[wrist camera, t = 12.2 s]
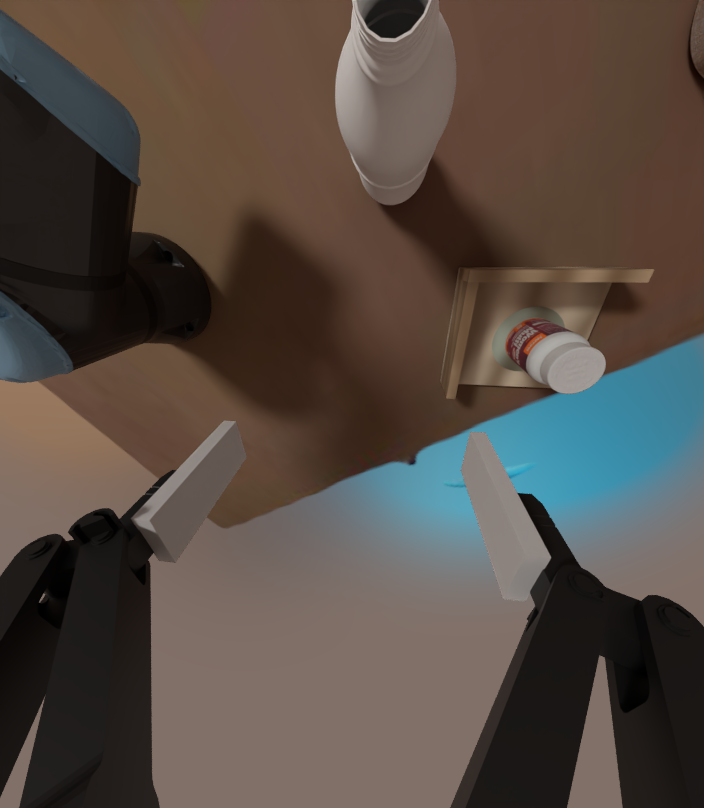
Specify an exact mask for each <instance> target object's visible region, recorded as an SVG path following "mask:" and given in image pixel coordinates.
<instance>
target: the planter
mask: <svg viewBox="0 0 704 808" xmlns="http://www.w3.org/2000/svg"><path fill="white" fill-rule="evenodd" d="M690 54H691V59H692V62H693V65H694V67H695V69H696V71H697V72H698V74H699V75H700V76H701V77H702V78H703V79H704V0H699V1H698V4H697V7H696V10H695V13H694V17H693V21H692V26H691V33H690Z"/></svg>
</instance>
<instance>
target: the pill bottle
mask: <svg viewBox="0 0 704 808" xmlns="http://www.w3.org/2000/svg"><path fill="white" fill-rule="evenodd" d="M505 351H506V353H507V355H508V356H509V357H510V358H511V359H512V360H513V361H514V362H515V363H516V364H517V365H518V366H520V367H521V368H522V369H523V370H524V371H525V372H526V373H527V374H528V375H529V376H530V377H531V378H533V379H534V380H536V381H537V382H539V383H542V384H546V385H548V386H549V387H551V388H552V389H553V390H555V391H557V392H559V393H563V394H574V393H578V392H581V391H584V390H586V389H588V388H589V387H591V386H592V385H594V384H595V383H596V382H597V381H598V380H599V379H600V378H601V376H602V374H603V373H604V370H605V366H606V361H605V358H604V356H603V354H602V353H601V352H600V351H598V350H597V349H595V348H593V347H591V346H590V344H589V343H588V341H587V340H586V339H585V338H584V337H582V336H581V335H579V334H577V333H575V332H572V331H570V330H568V329H566V328H563V327H561V326H559V325H557V324H554V323H552V322H550V321H548V320H545V319H542V318H529V319H525V320H523V321H521V322H519V323H518V324H516V325H515V326H514V327H513V328H512V329H511V330H510V331H509V333H508V334H507V336H506V339H505Z"/></svg>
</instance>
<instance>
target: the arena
mask: <svg viewBox="0 0 704 808" xmlns="http://www.w3.org/2000/svg"><path fill="white" fill-rule="evenodd" d="M653 271H654V269H640V268H625V267H473V268H459V270H458V276H457V282H456V288H455V294H454V300H453V306H452V312H451V318H450V324H449V330H448V336H447V342H446V348H445V354H444V360H443V367H442V373H441V379H440V382H441V385H442V388H443V390H444V393H445V396H446V398H449V399H455V398H456V393H457V388H458V384H470V385H492V386H515V387H537V388H551V387H549V386H548V385H546V384H542V383H539V382H537V381H536V380H534V379H533V378H531V377H530V376H529V375H528V374H527V373H526V372H525V371H524V370H523V369H522V368H521V367H520V366H518V365H517V364H516V363H515V362H514V361H513V360H512V359H511V358H510V357H509V356H508V355H507V353H506V351H505V339H506V336H507V334H508V333H509V331H510V330H511V329H512V328H513V327H514V326H515V325H516V324H518V323H519V322H521V321H523V320H525V319H529V318H542V319H545V320H548V321H550V322H552V323H554V324H557V325H559V326H561V327H563V328H566V329H568V330H570V331H572V332H575V333H577V334H579V335H581V336H582V337H584V338H585V339H586V340H588V338H589V336H590V333H591V331H592V329H593V326H594V324H595V322H596V319H597V317H598V315H599V312H600V310H601V307H602V305H603V303H604V300H605V298H606V296H607V293H608V291H609V289H610V286H611V284H612V282H649V280H650V278H651V276H652V273H653Z"/></svg>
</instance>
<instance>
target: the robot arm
mask: <svg viewBox="0 0 704 808" xmlns="http://www.w3.org/2000/svg"><path fill="white" fill-rule="evenodd" d="M139 156H140V134H139V130H138V127H137V125H136V123H135V121H134V119H133V118H132V116H131V114H130V113H129V111H128V110H127V109H126V108H125V107H124V106H123V105H122V104H121V103H120V102H119V101H118V100H117V99H116V98H115V97H114V96H112V95H111V94H110V93H109V92H107V91H106V90H105V89H104V88H102V87H101V86H100V85H99V84H97V83H96V82H95V81H94V80H92V79H91V78H90V77H88V76H87V75H86V74H85V73H83V72H82V71H81V70H79V69H78V68H77V67H76V66H74V65H73V64H72V63H70V62H69V61H68V60H66V59H65V58H64V57H63V56H61V55H60V54H59V53H57V52H56V51H55V50H53V49H52V48H51V47H49V46H48V45H47V44H46V43H44V42H43V41H42V40H40V39H39V38H38V37H36V36H35V35H34V34H32V33H31V32H30V31H28V30H27V29H26V28H25V27H23V26H22V25H21V24H19V23H18V22H17V21H15V20H14V19H13V18H11V17H10V16H9V15H7V14H6V13H5V12H4V11H2V10H1V9H0V380H5V381H10V382H18V383H26V382H34V381H39V380H42V379H45V378H48V377H52V376H55V375H58V374H68V373H70V372H72V371H73V370H75V369H78V368H80V367H83V366H86V365H88V364H91V363H93V362H96V361H99V360H101V359H104V358H106V357H109V356H111V355H114V354H117V353H119V352H122V351H124V350H127V349H130V348H132V347H135V346H137V345H140V344H143V343H163V344H174V343H180V342H184V341H186V340H189V339H191V338H193V337H195V336H197V335H198V334H200V333H201V332H202V331H203V329H204V328H205V327H206V325H207V323H208V320H209V317H210V311H211V302H210V295H209V291H208V287H207V284H206V282H205V279H204V277H203V275H202V273H201V272H200V270H199V268H198V267H197V265H196V264H195V262H194V261H193V260H192V259H191V258H190V256H189V255H188V254H187V253H186V252H185V251H184V250H183V249H181V248H180V247H179V246H178V245H176V244H175V243H173V242H172V241H170V240H168V239H167V238H164V237H162V236H160V235H156V234H152V233H144V232H132V226H133V219H134V211H135V204H136V196H137V189H138V186H140V184H141V182H140V179H139V177H138V171H139ZM246 458H247V457H246V454H245V450H244V447H243V443H242V440H241V437H240V433H239V430H238V426H237V423H236V421H223V422H222V423H221V424H220V425H219V426H218V427H217V428H216V430H215V431H214V432H213V433H212V434H211V435H210V436H209V437H208V438H207V439H206V440H205V441H204V442H203V443H202V444H201V445H200V446H199V447H198V448H197V449H196V451H195V452H194V453H193V454H192V455H191V456H190V457H189V458H188V459H187V460H186V461H185V462H184V463H183V464H182V465H181V466H180V467H179V468H178V469H177V470H172V471H170V472H168V473H167V474H165V475H164V476H162V477H161V478H160V479H159V480H158V481H157V482H156V483H155V484H154V485H153V486H152V488H150V489H149V490H148V491H147V492H146V494H145V495H143V496H142V497H141V498H140V499H139V500H138V501H137V502H136V503H135V504H134V505H133V506H132V507H131V508H130V509H129V510H128V511H127V512H126V513H125V514H124V515H123V516H122V517H121V518H120V519H118V517H117V516H116V514H115V513H114V511H113V510H111V509H109V508H107V509H106V508H104V509H99V510H95V511H93V512H91V513H89V514H86V515H85V516H83V517H82V518H80V519H79V520H77V522H75V523H74V524H73V525H72V526H71V528H70V530H69V531H68V533H69V534H70V535H71V536H72V537H73V539H74V540H70V541H65V539H64V538H63V537H62V536H61V535H58V534H51V535H47V536H44V537H41V538H39V539H37V540H35V541H33V542H31V543H30V544H28V545H27V546H26V547H25V548H23V549H22V550H21V551H20V552H19V553H18V554H17V555H16V556H15V557H14V559H13V560H12V561H11V563H10V564H9V565H8V567H7V568H6V569H5V571H4V572H3V573H2V575H1V576H0V796H1V794H2V792H3V790H4V787H5V785H6V783H7V781H8V778H9V776H10V774H11V771H12V769H13V767H14V765H15V762H16V760H17V758H18V756H19V753H20V751H21V749H22V747H23V744H24V742H25V740H26V738H27V735H28V733H29V731H30V728H31V726H32V724H33V722H34V719H35V717H36V715H37V713H38V710H39V708H40V706H41V704H42V701H43V699H44V697H45V699H44V704H43V708H42V712H41V717H40V721H39V726H38V730H37V734H36V738H35V742H34V747H33V751H32V756H31V760H30V764H29V768H28V772H27V777H26V781H25V786H24V790H23V794H22V798H21V803H20V807H19V808H160V807H159V802H158V798H157V794H156V792H155V789H154V786H153V780H152V735H151V734H152V731H151V728H152V727H151V725H152V724H151V596H150V595H151V594H150V593H151V591H150V563H149V561H148V559H149V558H150V557H151V555H152V554H153V553H154V554H155V555H156V557H157V558H158V560H159V561H165V562H174V563H175V562H176V561H177V560H178V558H179V557H180V555H181V554H182V552H183V551H184V549H185V548H186V546H187V545H188V543H189V542H190V541H191V539H192V537H193V536H194V535H195V533H196V532H197V530H198V529H199V527H200V526H201V524H202V523H203V521H204V520H205V518H206V517H207V515H208V514H209V512H210V511H211V509H212V508H213V506H214V505H215V503H216V502H217V501H218V499H219V498H220V496H221V495H222V493H223V492H224V490H225V489H226V487H227V486H228V484H229V483H230V481H231V480H232V478H233V477H234V475H235V474H236V472H237V471H238V469H239V468H240V466H241V465H242V463H243V462H244V461H245V459H246ZM461 472H462V475H463V478H464V482H465V485H466V488H467V491H468V494H469V497H470V500H471V503H472V506H473V509H474V512H475V515H476V518H477V521H478V524H479V527H480V530H481V533H482V536H483V539H484V542H485V545H486V548H487V552H488V555H489V557H490V561H491V564H492V567H493V570H494V573H495V575H496V579H497V582H498V585H499V588H500V591H501V594H502V597H503V599H508V600H517V601H526V599H527V598H528V596H529V594H531V596H532V598H533V601H534V603H535V607H534V609H533V610H532V612H531V613H530V615H529V616H528V618H527V620H528V623H527V625H526V628H525V630H524V633H523V635H522V637H521V640H520V642H519V644H518V647H517V649H516V652H515V654H514V656H513V659H512V661H511V664H510V666H509V668H508V671H507V673H506V676H505V678H504V680H503V683H502V685H501V688H500V690H499V692H498V695H497V697H496V699H495V702H494V704H493V707H492V709H491V711H490V714H489V716H488V719H487V721H486V723H485V726H484V728H483V731H482V733H481V735H480V738H479V740H478V743H477V745H476V747H475V750H474V752H473V755H472V757H471V759H470V762H469V764H468V767H467V769H466V771H465V774H464V776H463V779H462V781H461V783H460V786H459V788H458V790H457V793H456V795H455V798H454V800H453V803H452V805H451V807H450V808H567V804H568V800H569V795H570V790H571V786H572V781H573V776H574V772H575V767H576V762H577V757H578V753H579V747H580V743H581V739H582V734H583V729H584V724H585V719H586V715H587V710H588V706H589V701H590V696H591V691H592V687H593V682H594V677H595V672H596V668H597V663H598V658H599V655H600V656H603V657H605V661H606V670H607V679H608V687H609V695H610V704H611V712H612V721H613V729H614V738H615V745H616V754H617V763H618V770H619V780H620V788H621V796H622V805H623V808H704V627H703V625H702V624H701V623H700V622H699V621H698V620H697V619H696V618H695V617H694V616H693V615H692V614H691V613H690V612H688V611H687V610H686V609H684V608H683V607H682V606H680V605H679V604H677V603H675V602H673V601H671V600H669V599H667V598H664V597H661V596H658V595H648V596H647V597H645V598H644V599H643V600H642V601H639V600H637V599H634V598H632V597H629V596H626V595H624V594H621V593H618V592H616V591H613V590H611V589H609V588H606V587H605V586H604V585H603V584H602V583H601V582H600V581H599V580H598V579H597V578H596V577H595V576H594V575H592V574H591V573H590V572H588V571H587V570H585V569H583V568H581V567H580V565H579V564H578V562H577V561H576V559H575V557H574V555H573V554H572V552H571V551H570V549H569V547H568V546H567V544H566V542H565V541H564V539H563V537H562V536H561V534H560V532H559V531H558V529H557V528H556V527H555V524H554V522H553V521H552V519H551V518H550V517H549V514H548V512H547V511H546V509H545V508H544V506H543V504H542V503H541V502H540V501H538V500H537V499H536V498H535V497H534V496H533V495H532V494H522V493H517V492H516V490H515V488H514V486H513V484H512V482H511V480H510V478H509V477H508V475H507V473H506V471H505V469H504V467H503V465H502V463H501V461H500V460H499V458H498V456H497V454H496V452H495V450H494V448H493V446H492V444H491V443H490V441H489V439H488V437H487V435H486V433H482V432H470V435H469V439H468V443H467V447H466V451H465V455H464V460H463V464H462V469H461ZM43 593H44V594H46V595H45V597H44V598H43V600H42V601H41V602H40V603H39V601H40V599H41V597H42V595H43ZM45 694H46V695H45Z"/></svg>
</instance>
